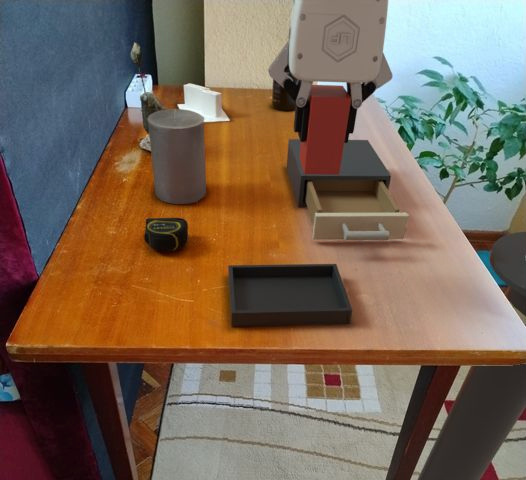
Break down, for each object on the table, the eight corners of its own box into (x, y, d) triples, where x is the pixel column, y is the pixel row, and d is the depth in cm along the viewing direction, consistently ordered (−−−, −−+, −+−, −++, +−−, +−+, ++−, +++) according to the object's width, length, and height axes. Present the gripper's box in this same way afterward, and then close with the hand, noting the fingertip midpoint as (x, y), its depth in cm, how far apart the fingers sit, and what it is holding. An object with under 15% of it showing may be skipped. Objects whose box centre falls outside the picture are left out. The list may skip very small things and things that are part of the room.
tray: (334, 276, 75) (336, 263, 73) (349, 323, 67) (352, 310, 65) (228, 278, 73) (228, 265, 72) (231, 327, 65) (231, 313, 64)
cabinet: (384, 207, 93) (391, 175, 88) (298, 207, 91) (301, 175, 87) (362, 168, 105) (367, 139, 101) (286, 168, 104) (288, 139, 100)
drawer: (410, 252, 79) (417, 228, 76) (317, 253, 78) (320, 229, 75) (377, 194, 94) (382, 173, 91) (299, 194, 93) (301, 172, 90)
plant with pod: (138, 159, 104) (124, 51, 90) (139, 139, 112) (126, 38, 98) (177, 158, 105) (168, 52, 91) (175, 138, 113) (166, 38, 100)
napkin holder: (176, 104, 131) (174, 80, 127) (217, 102, 134) (217, 79, 130) (186, 123, 121) (185, 98, 117) (231, 120, 124) (230, 96, 120)
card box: (332, 159, 65) (343, 85, 59) (339, 174, 62) (351, 98, 56) (299, 158, 65) (306, 84, 59) (304, 174, 61) (312, 97, 55)
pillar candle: (151, 185, 95) (141, 102, 85) (200, 180, 98) (196, 99, 88) (161, 208, 89) (151, 121, 78) (213, 201, 91) (210, 117, 81)
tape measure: (188, 234, 82) (187, 213, 80) (188, 256, 77) (186, 235, 75) (147, 234, 82) (144, 214, 79) (144, 256, 77) (141, 235, 74)
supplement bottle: (287, 102, 137) (290, 53, 129) (301, 109, 133) (305, 59, 124) (266, 105, 134) (268, 55, 126) (280, 112, 130) (283, 61, 122)
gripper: (264, -51, 45) (256, 149, 58) (440, -41, 47) (396, 151, 59) (258, -57, 51) (253, 126, 63) (416, -49, 52) (380, 129, 64)
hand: (322, 137), depth 61 cm, fingers closed on card box, 4 cm apart
